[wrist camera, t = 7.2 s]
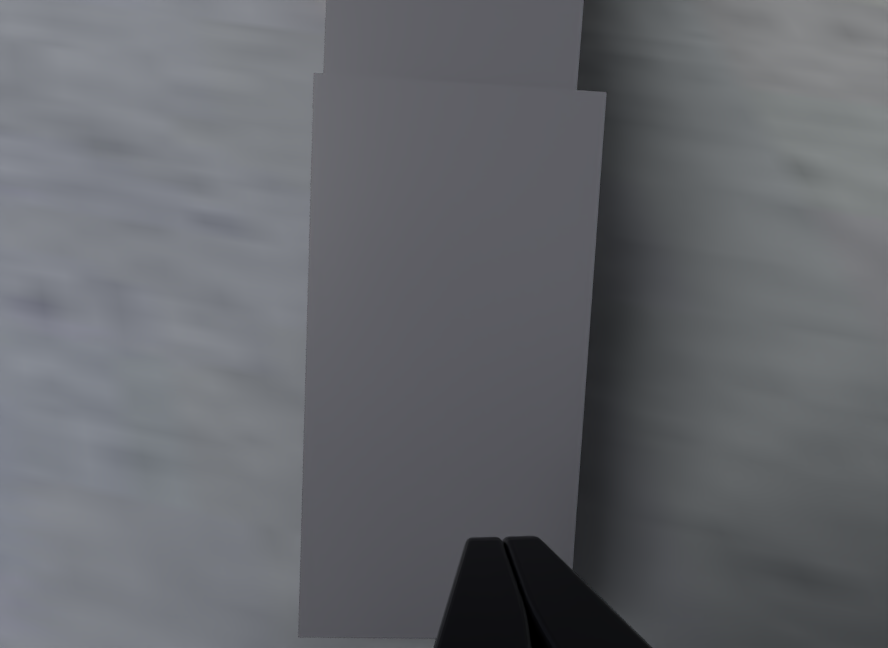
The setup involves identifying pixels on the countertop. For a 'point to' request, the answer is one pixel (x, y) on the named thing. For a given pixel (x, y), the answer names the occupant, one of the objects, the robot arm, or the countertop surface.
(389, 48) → the domino
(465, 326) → the domino
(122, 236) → the countertop surface
